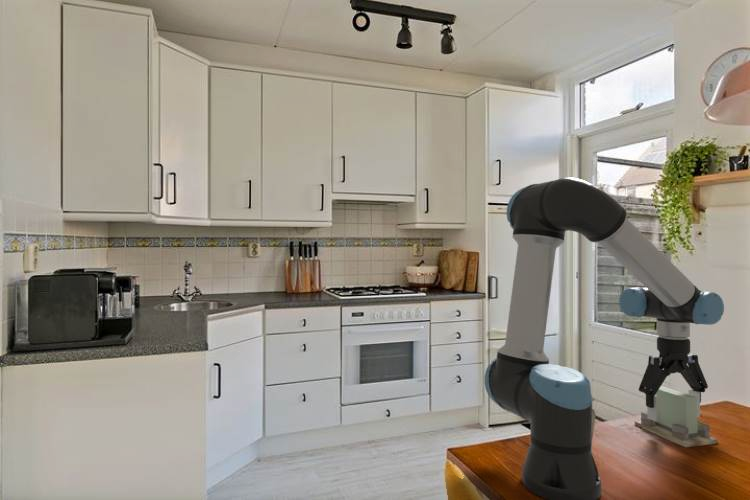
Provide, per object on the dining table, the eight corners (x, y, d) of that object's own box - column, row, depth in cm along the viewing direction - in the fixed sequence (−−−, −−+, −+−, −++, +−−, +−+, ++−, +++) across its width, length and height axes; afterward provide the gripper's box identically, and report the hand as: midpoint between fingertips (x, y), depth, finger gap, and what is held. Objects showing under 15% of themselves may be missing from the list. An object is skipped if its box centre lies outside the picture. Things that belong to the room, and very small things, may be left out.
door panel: (686, 438, 120) (686, 398, 120) (650, 423, 131) (650, 386, 131) (697, 436, 121) (697, 397, 121) (661, 422, 132) (661, 385, 132)
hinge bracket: (685, 447, 117) (685, 431, 117) (634, 424, 132) (634, 410, 132) (717, 443, 119) (717, 427, 119) (663, 421, 135) (663, 407, 135)
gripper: (646, 341, 119) (646, 426, 119) (723, 337, 126) (724, 418, 125) (623, 336, 127) (623, 416, 126) (697, 332, 133) (698, 409, 133)
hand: (673, 417), depth 126 cm, fingers open, 13 cm apart
